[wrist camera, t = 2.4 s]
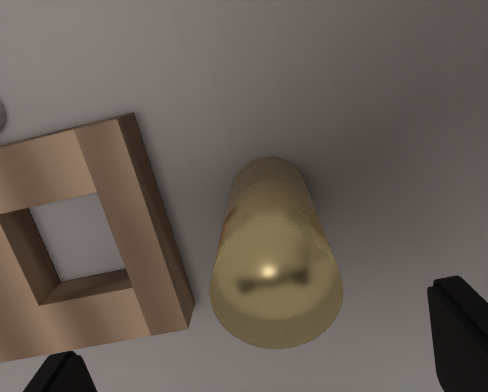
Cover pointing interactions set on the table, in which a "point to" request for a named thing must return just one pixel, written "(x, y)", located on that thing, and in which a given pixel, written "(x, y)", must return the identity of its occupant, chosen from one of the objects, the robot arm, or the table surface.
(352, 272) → the table surface
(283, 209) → the brass peg
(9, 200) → the socket board
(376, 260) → the table surface
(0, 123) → the adjustable wrench
